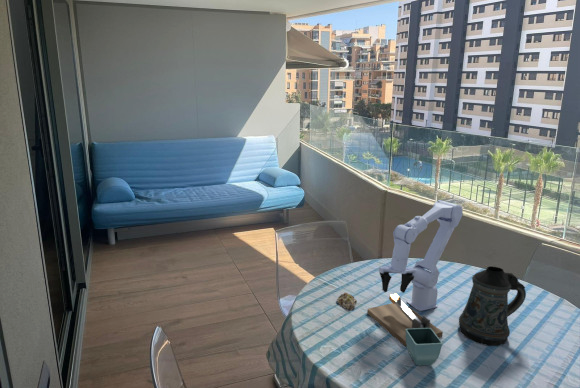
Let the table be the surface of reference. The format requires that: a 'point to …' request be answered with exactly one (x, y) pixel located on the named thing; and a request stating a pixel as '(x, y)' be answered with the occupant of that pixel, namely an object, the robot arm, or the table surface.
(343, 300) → the mineral rock
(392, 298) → the press lever
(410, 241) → the robot arm
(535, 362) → the table surface
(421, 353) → the flower pot
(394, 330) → the base
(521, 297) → the beer stein
